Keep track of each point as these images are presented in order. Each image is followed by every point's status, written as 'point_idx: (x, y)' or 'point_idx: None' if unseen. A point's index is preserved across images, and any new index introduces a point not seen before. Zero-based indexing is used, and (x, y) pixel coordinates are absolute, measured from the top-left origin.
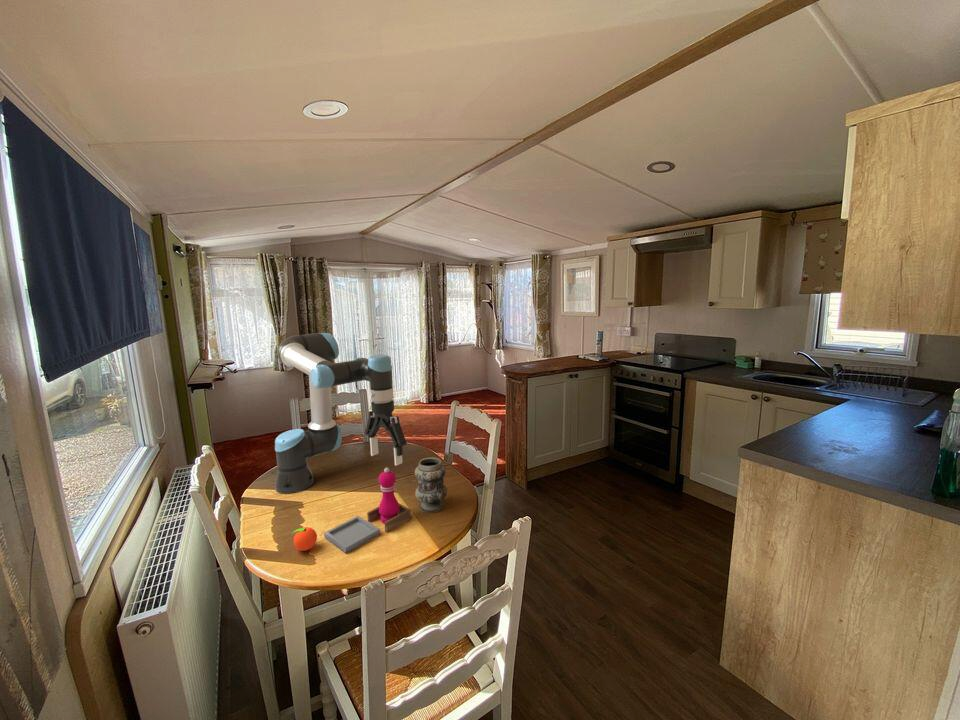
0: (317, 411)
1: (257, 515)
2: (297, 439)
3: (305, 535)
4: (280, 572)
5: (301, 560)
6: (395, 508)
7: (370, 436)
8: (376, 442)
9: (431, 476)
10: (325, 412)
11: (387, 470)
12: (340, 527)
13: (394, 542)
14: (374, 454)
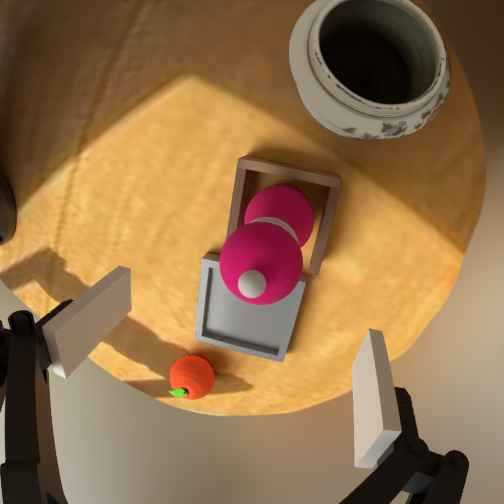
0: None
1: (45, 312)
2: None
3: (200, 396)
4: (221, 410)
5: (223, 386)
6: (311, 229)
7: (48, 377)
8: (84, 318)
9: (426, 123)
10: None
11: (262, 292)
12: (204, 308)
13: (362, 286)
14: (129, 297)
